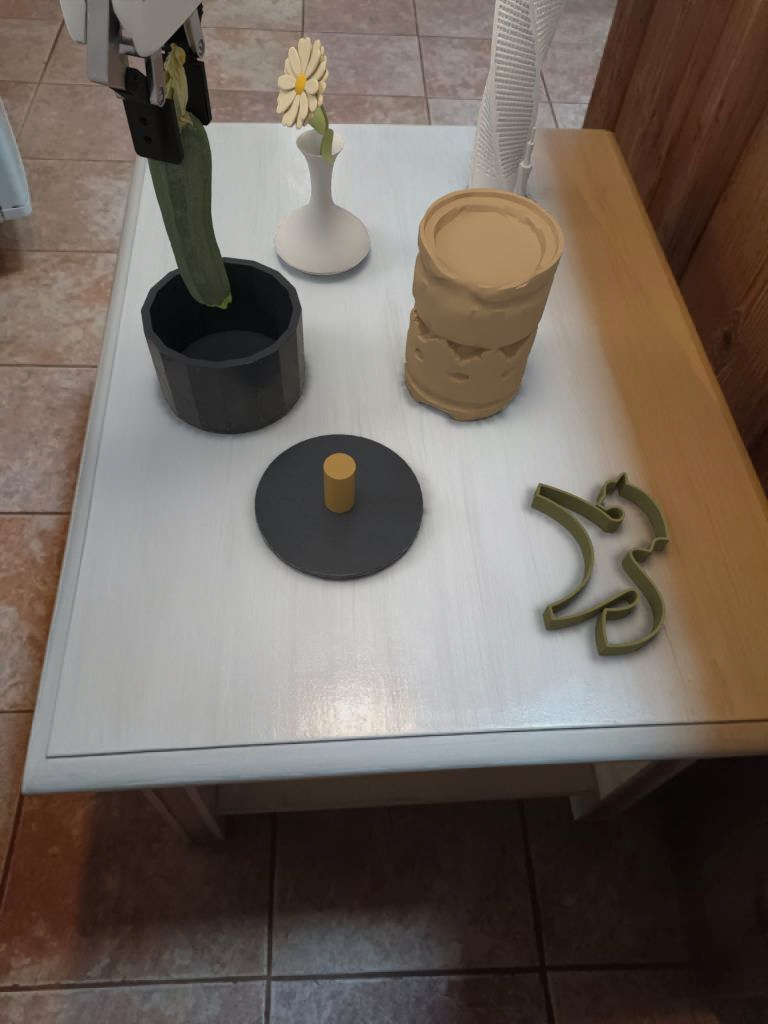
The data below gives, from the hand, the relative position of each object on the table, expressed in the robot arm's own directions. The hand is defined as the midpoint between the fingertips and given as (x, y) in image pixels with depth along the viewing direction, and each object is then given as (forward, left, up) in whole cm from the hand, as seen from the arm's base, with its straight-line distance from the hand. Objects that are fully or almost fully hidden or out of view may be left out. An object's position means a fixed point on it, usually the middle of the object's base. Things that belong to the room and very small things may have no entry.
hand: (174, 136), depth 48 cm
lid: (+1, -16, -29) cm, 33 cm away
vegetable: (0, 0, -15) cm, 15 cm away
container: (+22, -12, -29) cm, 38 cm away
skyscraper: (+47, +5, -29) cm, 55 cm away
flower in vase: (+24, +12, -29) cm, 39 cm away
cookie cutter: (+14, -36, -29) cm, 49 cm away
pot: (+4, +4, -29) cm, 30 cm away
